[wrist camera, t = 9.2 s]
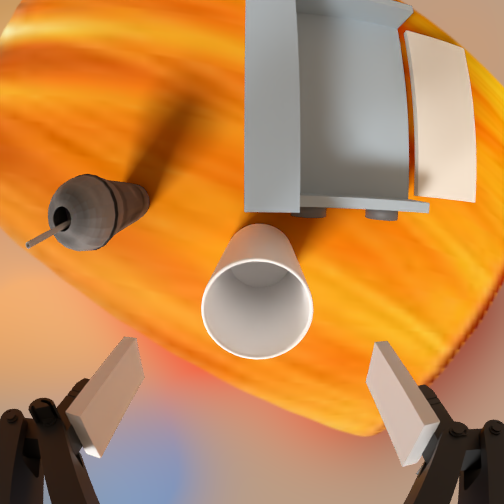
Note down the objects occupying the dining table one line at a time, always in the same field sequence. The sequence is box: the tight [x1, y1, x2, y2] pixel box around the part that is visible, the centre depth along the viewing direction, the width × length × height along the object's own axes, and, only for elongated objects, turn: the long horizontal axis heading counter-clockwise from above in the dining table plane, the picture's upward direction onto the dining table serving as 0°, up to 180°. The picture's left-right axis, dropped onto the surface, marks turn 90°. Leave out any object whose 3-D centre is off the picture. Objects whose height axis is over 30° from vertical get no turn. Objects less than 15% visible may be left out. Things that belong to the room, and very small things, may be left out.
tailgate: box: [404, 30, 476, 203], centre depth 27 cm, size 21×1×9 cm
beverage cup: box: [26, 174, 150, 251], centre depth 26 cm, size 7×7×20 cm
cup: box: [201, 224, 313, 359], centre depth 29 cm, size 8×8×16 cm
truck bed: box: [244, 0, 429, 221], centre depth 25 cm, size 27×18×14 cm, turn 0°
